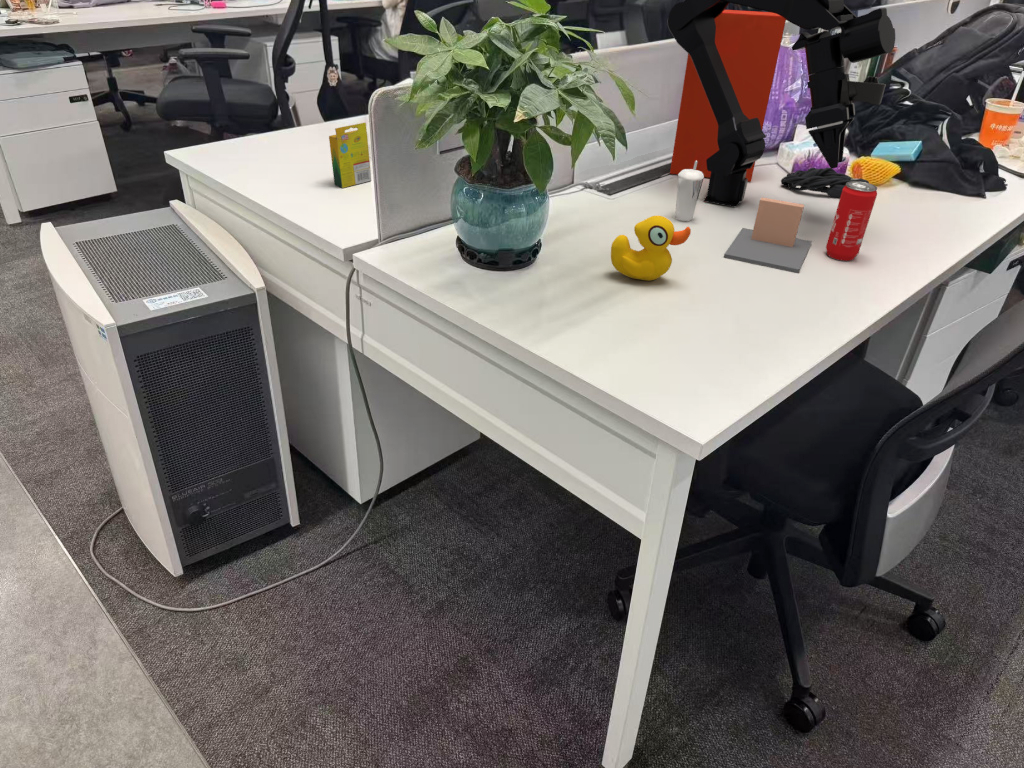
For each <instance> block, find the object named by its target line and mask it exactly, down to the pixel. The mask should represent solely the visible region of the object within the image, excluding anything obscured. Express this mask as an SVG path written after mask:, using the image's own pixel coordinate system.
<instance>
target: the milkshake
mask: <svg viewBox="0 0 1024 768" xmlns="http://www.w3.org/2000/svg"><path fill="white" fill-rule="evenodd" d="M697 162H698V161H695V164H694V168H693V169H684V170H682V171H681V172H680V173H679V174H678V175H677V186H676V187H677V188H676V189H677V190H676V199H675V200H676V201H675V211H674V219H676V220H677V221H680V222H692V220H693V219H694V215H695V212H696V207H697V202H698V199H699V194H700V192H701V188H702V184H703V181H704V178H705V177H704V175H703V173H702V172H701V171H698V170H696V166H697Z"/></svg>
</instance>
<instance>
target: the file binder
mask: <svg viewBox="0 0 1024 768" xmlns="http://www.w3.org/2000/svg"><path fill="white" fill-rule="evenodd" d="M714 20H715V24H716V34H715V44H716V47H717V50H718V52H719V55H720V57H721V60H722V62H723V65H724V67H725V70H726V72H727V75H728V77H729V80H730V82H731V84H732V87H733V89H734V92H735V94H736V97H737V99H738V102H739V104H740V107H741V109H742V112H743V114H744V115H745V116H746V117H747V118H748V119H753V118H758V119H759V121H760V125H761V129H762V130H763V128H764V124H765V118H766V115H767V110H768V105H769V100H770V95H771V92H772V87H773V81H774V77H775V73H776V67H777V62H778V60H779V59H778V58H779V53H780V49H781V45H782V40H783V36H784V31H785V25H786V21H787V20H786V19H785V18H784V17H782V16H780V15H778V14H776V13H772V12H768V11H757V10H756V11H753V10H752V11H751V10H740V9H739V10H737V9H736V10H735V9H725V10H724V11H723V12H722V13H721V14H720V15H719V16H718V17H716V18H715V19H714ZM683 78H684V79H683V85H682V91H681V97H680V104H679V109H678V110H679V112H678V117H677V124H676V131H675V137H674V145H673V149H672V156H671V163H670V170H669V175H675V176H676V175H677V176H678V174H679V173H680V172H681V171H682V170H684V169H693V168H694V164H695V161H698V162H697V166H696V170H698V171H701V172H702V173H703V175H704V178H709V179H710V175H711V171H708V170H707V163H706V160H707V159H708V158H709V157H711V156H712V155H713V154H715V153H716V152H717V151H719V147H718V143H717V137H718V123H717V121H716V118H715V116H714V113H713V111H712V108H711V106H710V103H709V101H708V98H707V96H706V93H705V91H704V88H703V86H702V83H701V81H700V78H699V76H698V73H697V71H696V68H695V66H694V64H693V61H692V59H691V56H690V55H689V54H688V53H687V58H686V65H685V71H684V77H683ZM755 165H756V161H755V162H754V164H753V166H752V167H751V168H750V169H746V170H747V172H746V177H745V178H747V179H748V182H750V183H751V182H752V179H753V173H754V170H755ZM748 182H747V183H748Z"/></svg>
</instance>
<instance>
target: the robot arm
mask: <svg viewBox="0 0 1024 768" xmlns="http://www.w3.org/2000/svg"><path fill="white" fill-rule="evenodd" d="M729 4H735V5H738V6H743V7H747V8H751V9H755V10H759V11H762V12H772V13H776V14H778V15H780V16H782V17H784V18H785V19H786V21H787V22H788V23H791V24H792V25H795V26H797V27H799V28H801V29H803V30H806V31H807V30H816V29H821V30H823V31H820V32H817V33H814V34H810V33H809V32H801V33H800V34H799V36H798V39H797V40H795V42H794V44H793V45H792V46H791V50H792V51H798V50H803V49H804V50H805V59H806V67H807V68H806V69H807V75H808V77H807V78H808V81H807V88H808V89H809V94H810V101H811V102H810V103H811V104H810V105H811V106H810V110H809V112H808V113H807V115H806V116H805V117H804V118H805V119H804V120H805V128H806V130H808V134H809V135H810V137H811V138H812V140H813V141H814V143H815V144H816V146H817V148H818V149H819V151H820V153H821V155H822V156H823V158H824V160H825V161H826V163H827V164H828V166H829V168H832V169H836V168H838V166H839V163H842V162H843V159H844V151H845V141H846V132H847V129H848V127H849V126H850V125H851V124H852V122H853V121H854V120H855V117H852V116H855V115H856V109H855V108H856V107H855V103H853V102H859V103H861V102H862V103H869V104H870V105H878V106H879V105H881V104H882V100H883V97H884V93H885V90H886V86H887V84H886V83H880V82H879V79H878V76H871V75H870V76H869V75H868V76H867V77H866V78H865V79H864V80H863V81H856V80H855V81H854V80H853V81H852V80H850V74H849V73H847V72H846V64H845V63H846V62H845V59H848V61H849V62H850V63H851V64H852V63H853V64H856V63H858V62H863V61H866V60H869V59H873V58H877V57H881V56H883V55H887V54H888V55H889V54H890V53H892V52H893V51H894V48H895V45H896V29H895V28H894V26H893V22H892V20H891V18H890V17H889V15H888V10H887V8H886V7H881V8H877V9H874V10H871V11H870V12H868V13H866V14H863V15H859V16H857V15H856V14H855V13H854V12H853V11H852V10H851V9H850V8H849V7H848V6H847V5H845V2H844V0H684V1H680V2H677V3H675V4H674V5H673V6H672V7H671V9H670V11H669V14H668V18H667V23H666V24H667V28H668V30H669V32H670V34H671V35H672V37H673V38H674V40H675V41H676V43H677V44H678V45H679V46H680V47H681V48H682V49H683V50H684V51H685V52H686V53H687V55H688V54H689V55H690V56H691V59H692V61H693V64H694V66H695V68H696V71H697V73H698V76H699V78H700V81H701V83H702V86H703V88H704V91H705V93H706V96H707V98H708V101H709V103H710V106H711V108H712V111H713V113H714V116H715V118H716V121H717V123H718V137H717V143H718V147H719V151H717V152H716V153H715V154H713V155H712V156H711V157H709V158H708V159H707V160H706V163H707V170H708V171H711V175H710V178H709V180H708V187H707V192H706V196H705V197H704V198H703V202H706V203H711V204H716V205H720V206H727V207H732V208H736V207H738V205H739V204H740V203H742V202H743V200H744V199H745V196H746V195H745V194H746V190H747V185H748V179H747V178H745V177H746V172H747V170H746V169H750V168H751V167H752V166H753V164H754V162H755V163H756V162H757V161H758V160H760V159H761V157H762V156H763V154H764V152H765V150H766V141H765V138H767V135H766V134H765V133H764V132H763V129H761V125H760V121H759V119H758V118H753V119H748V118H747V117H746V116H745V115H744V114H743V112H742V109H741V107H740V104H739V102H738V99H737V97H736V94H735V92H734V89H733V87H732V84H731V82H730V80H729V77H728V75H727V72H726V70H725V67H724V65H723V62H722V60H721V57H720V55H719V52H718V50H717V47H716V44H715V34H716V24H715V20H714V19H715V18H716V17H718V16H719V15H720V14H721V13H722V12H723V11H724V10H726V8H727V7H728V6H729ZM833 30H840V32H838V33H835V34H832V33H831V32H830V31H833ZM810 129H811V130H810Z"/></svg>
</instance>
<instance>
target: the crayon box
mask: <svg viewBox="0 0 1024 768" xmlns="http://www.w3.org/2000/svg"><path fill="white" fill-rule="evenodd" d="M350 129H355V130H351V131H348V130H350ZM334 130H335V134H332V135H329V136H328V141H329V148H330V156H331V157H330V158H331V164H332V165H331V167H332V174H333V182H334V186H336V187H339V188H341V189H345V188H348V187H351V186H355V185H359V184H363V183H367V182H372V173H371V162H370V161H371V160H370V153H369V140H368V132H367V123H366V122H360V123H356V124H352V125H351V124H350V125H346V126H340V127H336V128H334ZM346 131H347V132H346Z"/></svg>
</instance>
